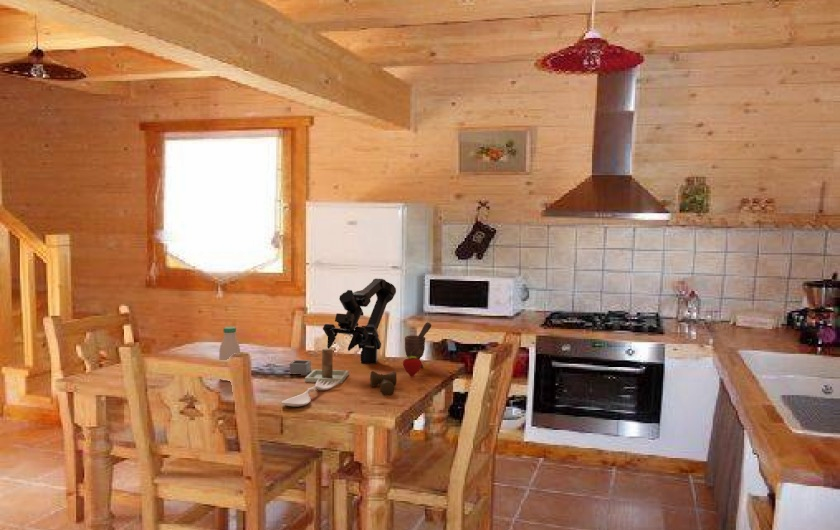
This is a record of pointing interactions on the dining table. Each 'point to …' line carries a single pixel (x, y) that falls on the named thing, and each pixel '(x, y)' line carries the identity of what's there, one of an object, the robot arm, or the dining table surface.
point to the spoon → (304, 397)
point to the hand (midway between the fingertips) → (338, 349)
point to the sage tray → (336, 377)
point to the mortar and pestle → (416, 343)
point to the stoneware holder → (300, 367)
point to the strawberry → (412, 365)
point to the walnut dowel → (327, 363)
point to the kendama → (384, 382)
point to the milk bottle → (228, 344)
